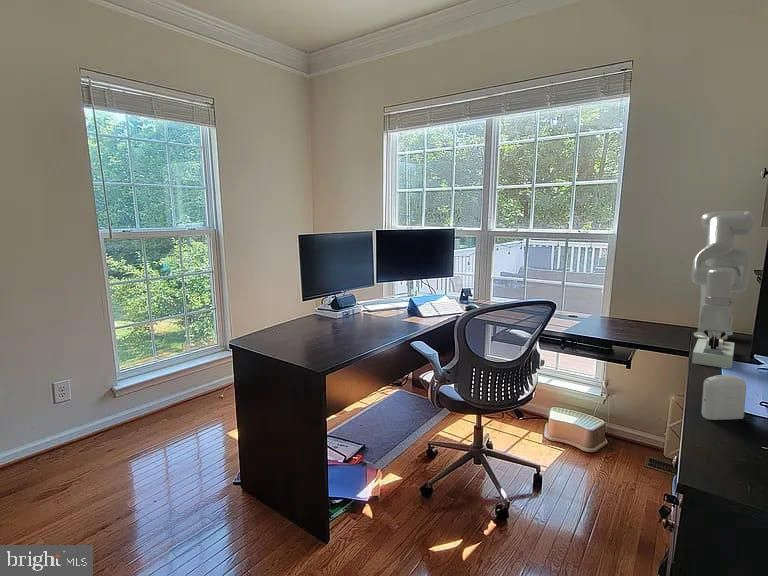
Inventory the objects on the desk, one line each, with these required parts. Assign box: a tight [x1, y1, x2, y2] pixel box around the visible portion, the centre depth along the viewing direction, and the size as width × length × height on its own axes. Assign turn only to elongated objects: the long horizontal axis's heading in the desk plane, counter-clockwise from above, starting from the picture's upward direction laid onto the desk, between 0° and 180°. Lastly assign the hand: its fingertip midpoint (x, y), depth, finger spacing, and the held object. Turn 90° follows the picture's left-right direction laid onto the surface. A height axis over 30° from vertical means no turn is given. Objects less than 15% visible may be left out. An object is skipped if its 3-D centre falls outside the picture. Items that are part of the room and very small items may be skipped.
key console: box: [691, 338, 735, 369], centre depth 169 cm, size 24×12×4 cm, turn 139°
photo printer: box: [700, 374, 747, 421], centre depth 118 cm, size 10×4×12 cm, turn 90°
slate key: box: [704, 346, 722, 355], centre depth 163 cm, size 5×5×4 cm
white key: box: [706, 338, 723, 348], centre depth 169 cm, size 5×5×4 cm
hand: (713, 348), depth 162 cm, fingers closed
